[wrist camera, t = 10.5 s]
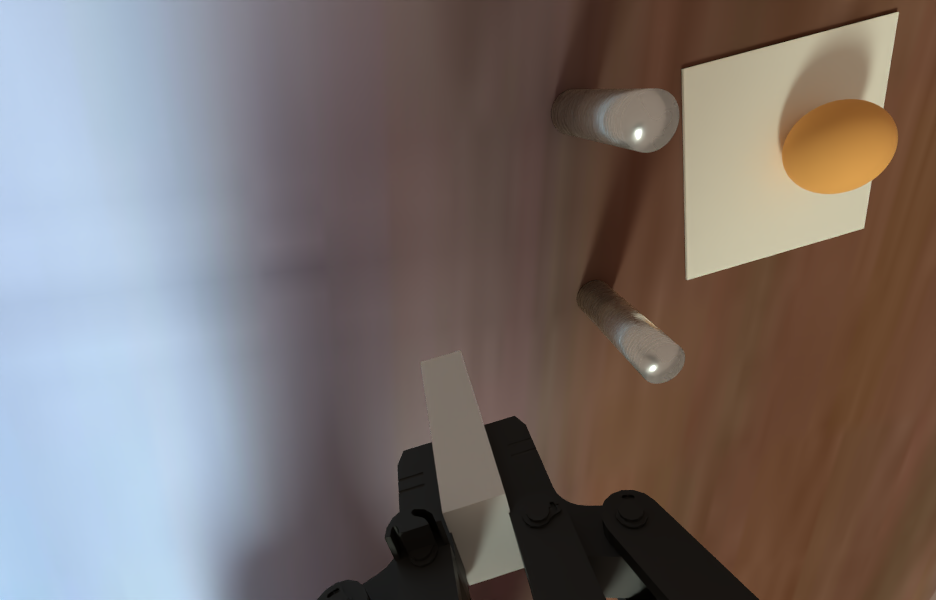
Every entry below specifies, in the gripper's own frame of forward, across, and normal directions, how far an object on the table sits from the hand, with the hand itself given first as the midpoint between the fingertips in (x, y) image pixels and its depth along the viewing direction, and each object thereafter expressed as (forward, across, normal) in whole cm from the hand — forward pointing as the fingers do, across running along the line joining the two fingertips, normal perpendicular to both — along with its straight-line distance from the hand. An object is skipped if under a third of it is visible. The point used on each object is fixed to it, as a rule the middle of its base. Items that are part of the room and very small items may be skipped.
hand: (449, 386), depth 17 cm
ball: (+11, +26, +1) cm, 29 cm away
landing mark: (+14, +25, 0) cm, 29 cm away
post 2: (+14, +11, -6) cm, 19 cm away
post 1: (+14, +11, +6) cm, 19 cm away
